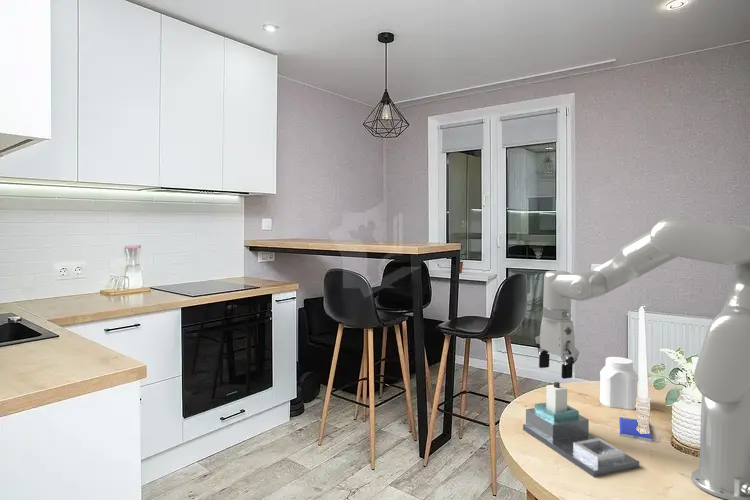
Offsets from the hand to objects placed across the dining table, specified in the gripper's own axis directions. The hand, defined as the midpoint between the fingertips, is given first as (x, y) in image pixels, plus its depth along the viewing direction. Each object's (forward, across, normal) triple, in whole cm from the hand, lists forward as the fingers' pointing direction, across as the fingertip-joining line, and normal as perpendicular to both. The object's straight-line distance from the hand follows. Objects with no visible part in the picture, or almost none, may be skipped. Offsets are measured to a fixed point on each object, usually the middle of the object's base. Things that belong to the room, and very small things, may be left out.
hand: (555, 372), depth 134 cm
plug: (+12, -1, 0) cm, 12 cm away
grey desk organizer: (+18, -9, 0) cm, 20 cm away
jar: (+18, +12, -36) cm, 42 cm away
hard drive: (+19, -6, -24) cm, 31 cm away
